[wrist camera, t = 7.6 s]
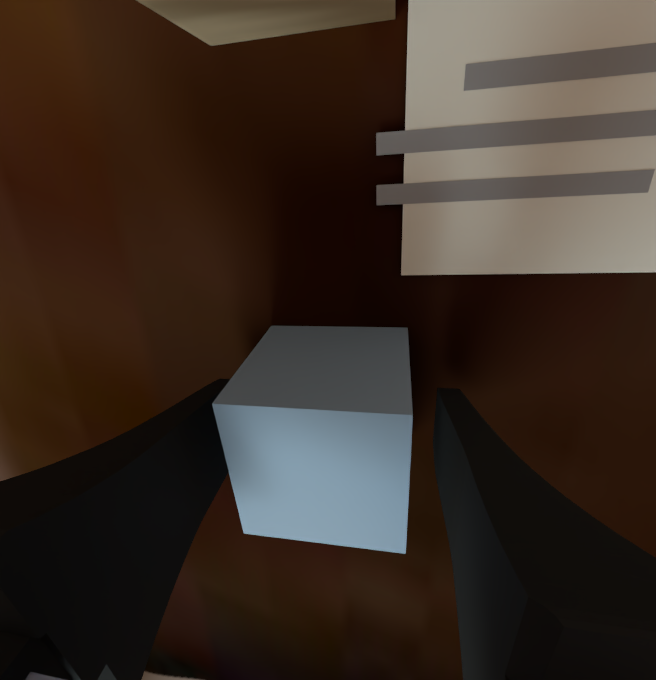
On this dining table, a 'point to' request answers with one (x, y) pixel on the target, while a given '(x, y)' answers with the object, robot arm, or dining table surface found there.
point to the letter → (527, 138)
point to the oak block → (266, 16)
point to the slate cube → (322, 435)
